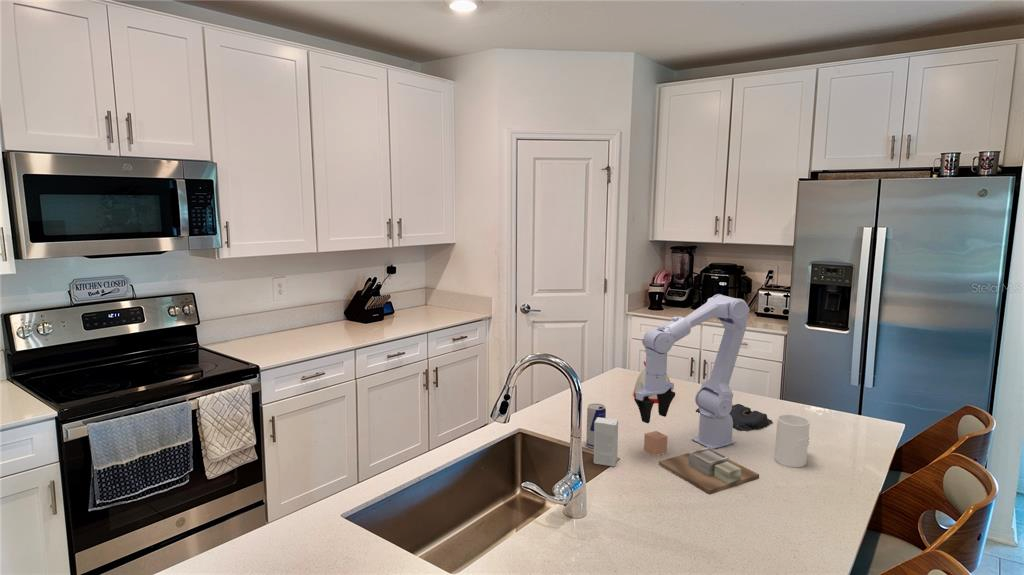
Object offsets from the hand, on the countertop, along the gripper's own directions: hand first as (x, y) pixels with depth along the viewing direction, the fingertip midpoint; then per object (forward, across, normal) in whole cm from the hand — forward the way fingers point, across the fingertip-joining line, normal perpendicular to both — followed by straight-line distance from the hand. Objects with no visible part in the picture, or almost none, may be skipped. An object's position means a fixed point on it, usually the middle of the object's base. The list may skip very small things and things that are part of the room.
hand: (654, 418), depth 165 cm
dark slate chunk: (+11, -43, -1) cm, 45 cm away
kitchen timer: (+11, -38, -30) cm, 50 cm away
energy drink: (+10, +9, -14) cm, 19 cm away
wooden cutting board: (+10, -2, +16) cm, 19 cm away
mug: (+11, -28, +27) cm, 40 cm away
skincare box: (+10, +15, -4) cm, 19 cm away
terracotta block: (+10, -1, 0) cm, 10 cm away
